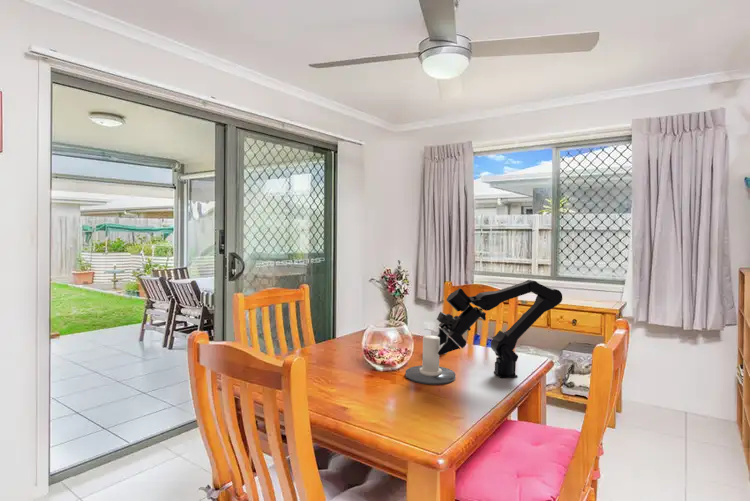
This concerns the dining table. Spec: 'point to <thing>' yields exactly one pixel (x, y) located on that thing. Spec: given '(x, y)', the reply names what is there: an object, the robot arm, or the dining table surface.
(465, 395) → the dining table surface
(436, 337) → the white flanged cylinder
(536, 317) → the robot arm
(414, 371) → the hub plate
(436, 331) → the white cup
